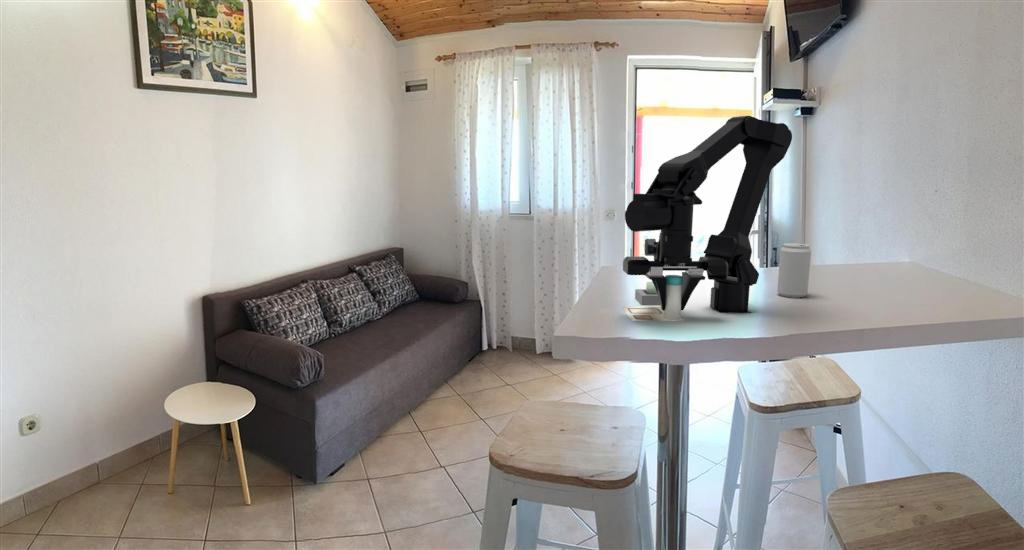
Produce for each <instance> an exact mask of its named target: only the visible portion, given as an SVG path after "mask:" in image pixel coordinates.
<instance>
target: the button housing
mask: <svg viewBox="0 0 1024 550" xmlns="http://www.w3.org/2000/svg"><path fill="white" fill-rule="evenodd" d="M634 291H635V292H634V299H635V300H636V301H637V302H638V303H639V304H640V306H660V302H659V299H658V295H657V294H646V288H635V290H634Z"/></svg>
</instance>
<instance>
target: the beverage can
mask: <svg viewBox="0 0 1024 550" xmlns="http://www.w3.org/2000/svg"><path fill="white" fill-rule="evenodd" d="M810 246H811V245H810V244H805V243H795V242H794V243H790V242H789V243H782V247H781V248H780V251H779V263H778V265H779V266H778V278H777V290H776V292H777V293H778V294H779V296H781V297H786V298H791V297H792V298H793V299H795V298H796V299H801V298H800V297H802V298H804V297H805V296H806V295H808V293H809V280H810V268H811V257H812V251H811V248H810ZM792 298H791V299H792Z"/></svg>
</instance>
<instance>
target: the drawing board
mask: <svg viewBox="0 0 1024 550" xmlns="http://www.w3.org/2000/svg"><path fill="white" fill-rule="evenodd" d="M621 308H622V309H623V311H624V312H625V313H626V314H627V316H628V317H629V319H630V320H631V322H686V320H685V319H684V318H682V317H681V319H680V320H667V319H664V318H663V315H664V311H663V310H662V309H661V306H644V305H640V306H639V305H638V306H636V305H635V306H627V305H625V306H621Z"/></svg>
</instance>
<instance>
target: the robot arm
mask: <svg viewBox="0 0 1024 550" xmlns="http://www.w3.org/2000/svg"><path fill="white" fill-rule="evenodd" d="M792 140H793V133H792V131H791V130H790V129H789V126H788V125H787V124H785V123H783V122H779V123H776V122H772V121H767V120H762V119H759V118H757V117H755V116H751V115H742V116H740V115H739V116H732V117H730V118H729V119H727V120H726V122H725V124H724V125H722V126H721V127H720V128H719V129H717V130H716V131H715V132H713V133H712V134H711V135H710V136H708V137H707V138H706V139H704V140H703V141H702V142H700V144H698V145H697V146H696V147H694V148H693V149H692V150H690V151H689V152H687V153H684V154H681V155H678V156H675V157H673V158H671V159H669V160H667V161H665V162H663V163H662V164H661V165H660V166H659V167H658V169H657V172H658V173H657V174H656V176H655V177H654V179H653V181H652V183H651V184H650V185H649V188H648V190H647V191H646V193H634V194H633V198H632V199H633V200H632V201H630V202H629V203H628V205H627V208H626V209H625V212H624V220H625V224H626V226H627V228H628V229H629V230H630V231H632V232H635V233H637V232H652V231H660V232H659V236H658V241H657V240H656V238H645V239H644V246H643V247H644V250H643V251H644V256H625V257H624V259H623V261H622V271H623V272H624V273H625V274H627V276H645V277H646V278H648V280H651V282H653V284H654V286H655V289H656V292H657V295H658V299H659V302H660V305H659V307H661V309H662V310H663V311H664V310H665V306H666V277H665V276H666V275H663V273H664V271H666V272H667V271H671V272H672V271H673V272H674V271H680V272H681V271H682V272H681V276H683V284H682V300H681V312H682V311H684V309H685V308H686V305H688V302H689V299H690V298H691V296H692V294H693V292H694V291H695V289H696V287H697V286H698V285H699V283H700V281H705V280H706V276H705V275H704V273H705V272H704V271H706V275H707V279H708V280H710V281H713V287H711V288H710V299H709V300H710V302H709V307H710V308H711V309H713V310H715V311H716V312H718V313H720V314H750V313H752V311H751V310H749V302H750V301H749V299H750V287H753V286H754V285H757V283H758V280H759V277H760V273H759V272H758V270H757V269H756V267H755V265H754V263H752V262H751V259H752V253H753V249H752V245H751V242H750V234H751V230H752V228H753V225H754V222H755V219H756V216H757V214H758V213H757V212H758V210H759V208H760V204H761V202H762V198H763V196H764V192H765V190H766V187H767V183H768V180H769V178H770V175H771V172H772V170H773V169H774V168H775V167H776V166H777V165H778V164H779V163H780V162H781V161H782V160H784V158H785V157H786V154H787V152H788V150H789V148H790V147H791V144H792ZM739 145H742V146H743V147H742V151H743V156H744V160H745V166H744V169H743V173H742V175H741V178H740V180H739V184H738V186H737V189H736V192H735V196H734V198H733V201H732V204H731V207H730V210H729V213H728V216H727V219H726V222H725V224H724V227H723V230H721V232H720V233H718V234H710V236H709V238H708V241H707V246H706V248H705V249H704V251H703V254H704V256H700V257H699V259H698V260H693V258H692V242H694V236H693V220H694V219H693V218H694V206H697V205H698V206H700V205H702V204H703V200H702V199H701V198H700V197H698V195H697V194H696V191H697V190H698V189H699V188H700V186H701V185H702V184H703V183H704V182H705V181H706V180H707V178H708V174H709V171H710V169H712V167H713V166H715V165H716V164H717V163H719V161H721V160H722V159H723V158H724V157H726V156H727V155H728V154H729V153H730V152H731V151H733V150H734V149H735V148H736V147H737V146H739ZM646 256H647V257H648V256H649V257H652V256H653V260H649V259H648V258H647V257H646Z"/></svg>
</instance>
